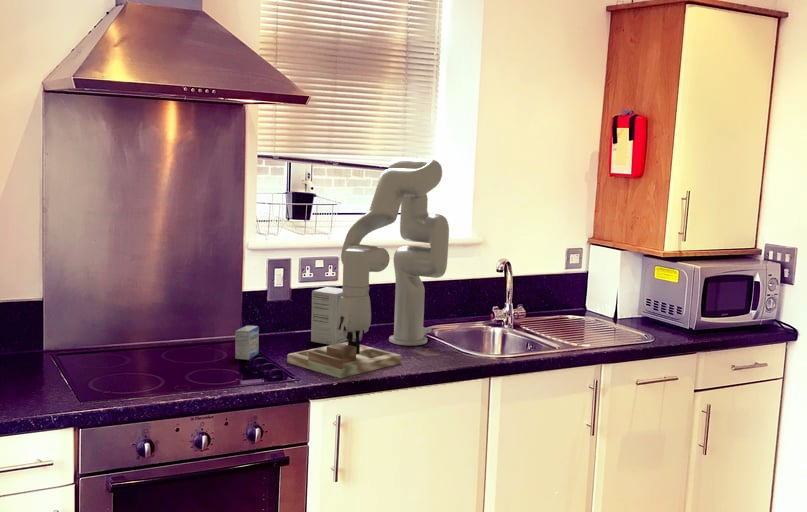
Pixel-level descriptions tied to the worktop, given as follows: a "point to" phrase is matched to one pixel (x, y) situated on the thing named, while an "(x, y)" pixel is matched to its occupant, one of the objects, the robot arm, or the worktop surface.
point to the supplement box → (325, 316)
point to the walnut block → (342, 352)
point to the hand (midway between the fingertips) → (353, 353)
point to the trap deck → (335, 366)
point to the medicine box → (247, 342)
